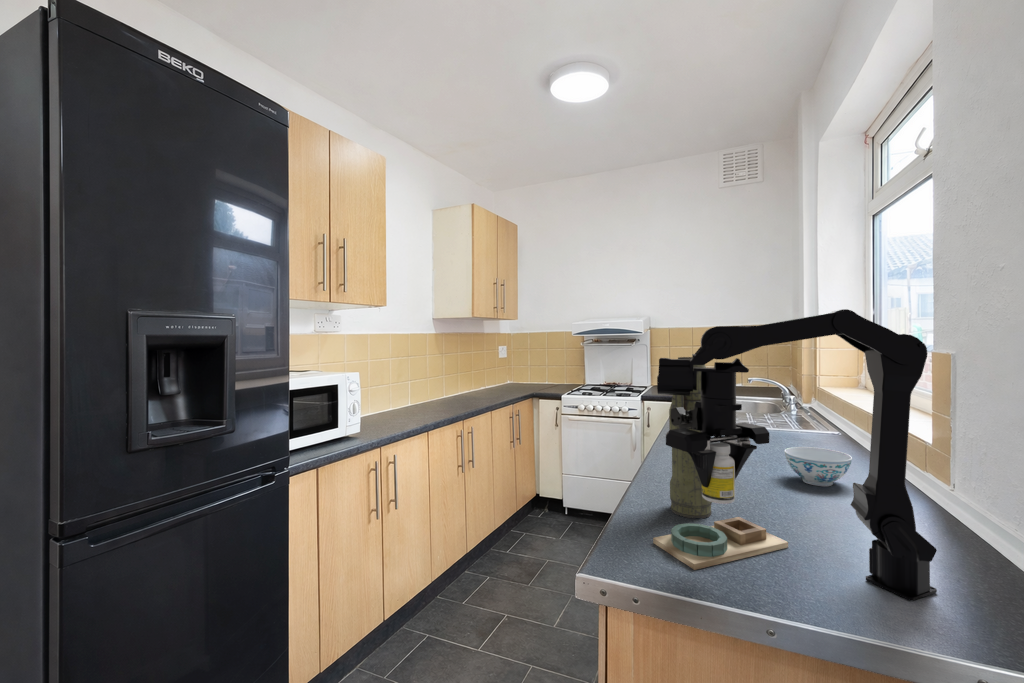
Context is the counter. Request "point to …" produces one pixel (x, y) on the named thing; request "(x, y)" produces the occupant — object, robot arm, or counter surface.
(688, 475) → the thermos
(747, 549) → the socket board
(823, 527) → the counter surface
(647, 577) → the counter surface
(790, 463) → the chinaware
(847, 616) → the counter surface
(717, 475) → the supplement bottle
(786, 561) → the counter surface
